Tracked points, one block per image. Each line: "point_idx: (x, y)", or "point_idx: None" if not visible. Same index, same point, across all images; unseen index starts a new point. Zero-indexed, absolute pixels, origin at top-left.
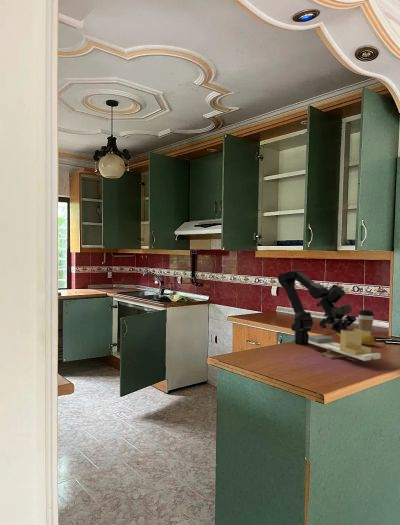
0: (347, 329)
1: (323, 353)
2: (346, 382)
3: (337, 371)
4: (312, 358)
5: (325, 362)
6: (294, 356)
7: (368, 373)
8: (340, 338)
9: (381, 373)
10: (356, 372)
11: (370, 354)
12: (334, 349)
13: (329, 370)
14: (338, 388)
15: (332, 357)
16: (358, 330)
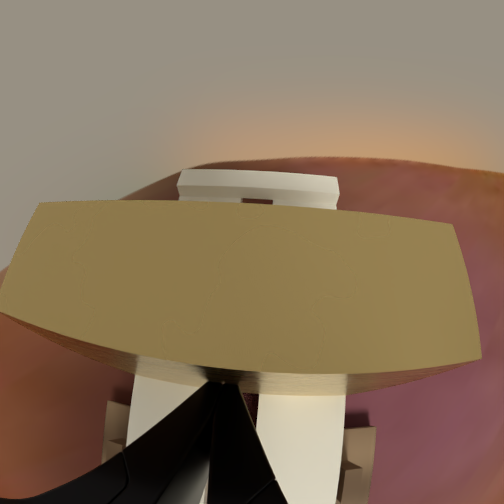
0: (259, 369)
1: (355, 502)
2: (476, 178)
3: (466, 246)
4: (454, 453)
5: (447, 371)
6: (490, 488)
7: (364, 179)
8: (397, 384)
9: (310, 160)
10: (404, 205)
11: (268, 178)
12: (339, 452)
13: (485, 267)
14: (500, 173)
15: (358, 427)
16: (111, 200)
